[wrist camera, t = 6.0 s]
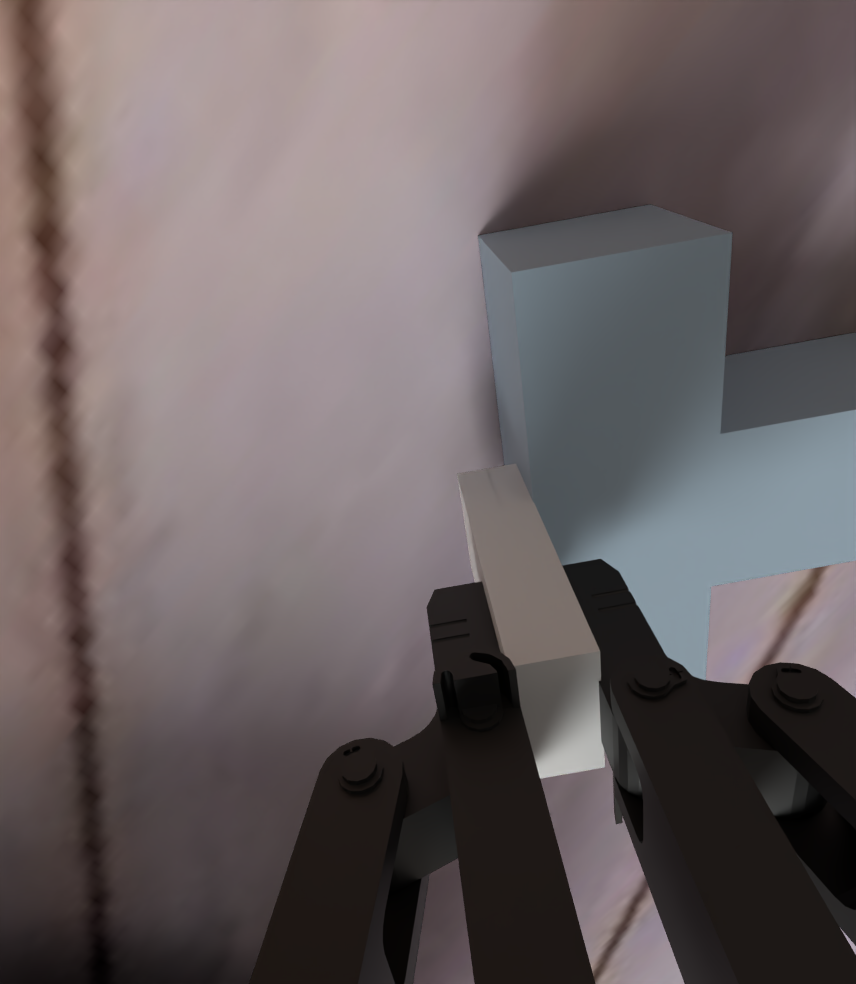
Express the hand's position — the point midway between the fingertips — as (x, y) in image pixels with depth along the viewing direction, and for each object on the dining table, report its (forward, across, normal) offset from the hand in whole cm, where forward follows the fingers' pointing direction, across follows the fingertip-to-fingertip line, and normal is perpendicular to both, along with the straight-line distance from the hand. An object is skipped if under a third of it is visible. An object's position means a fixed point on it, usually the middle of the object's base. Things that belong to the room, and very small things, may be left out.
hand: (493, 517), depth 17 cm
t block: (+2, +7, 0) cm, 7 cm away
